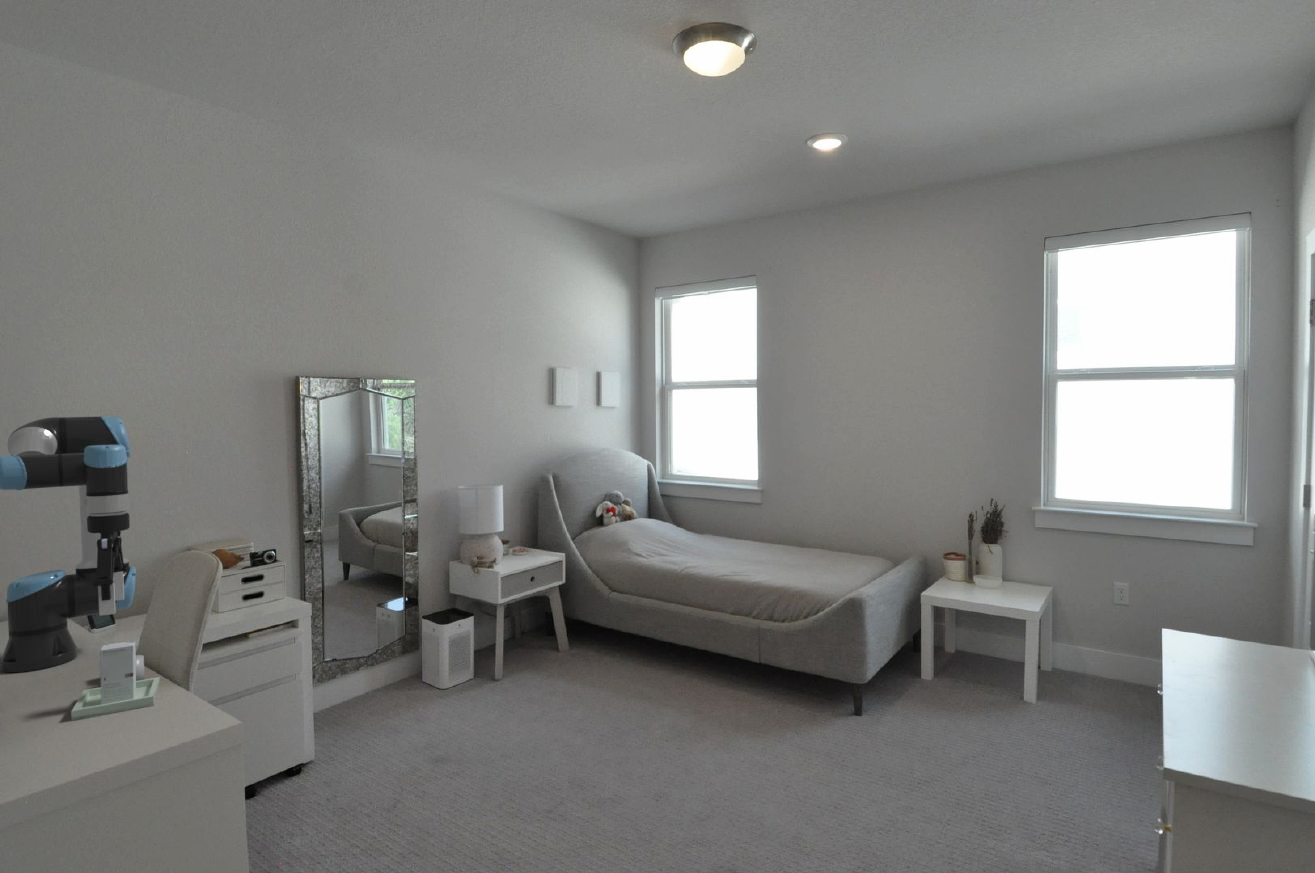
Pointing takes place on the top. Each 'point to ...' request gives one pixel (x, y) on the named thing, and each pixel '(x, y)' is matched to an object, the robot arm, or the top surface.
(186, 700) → the top surface
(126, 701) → the sage dish
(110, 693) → the skincare box
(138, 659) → the grey smooth rounded part
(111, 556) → the robot arm
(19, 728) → the top surface
